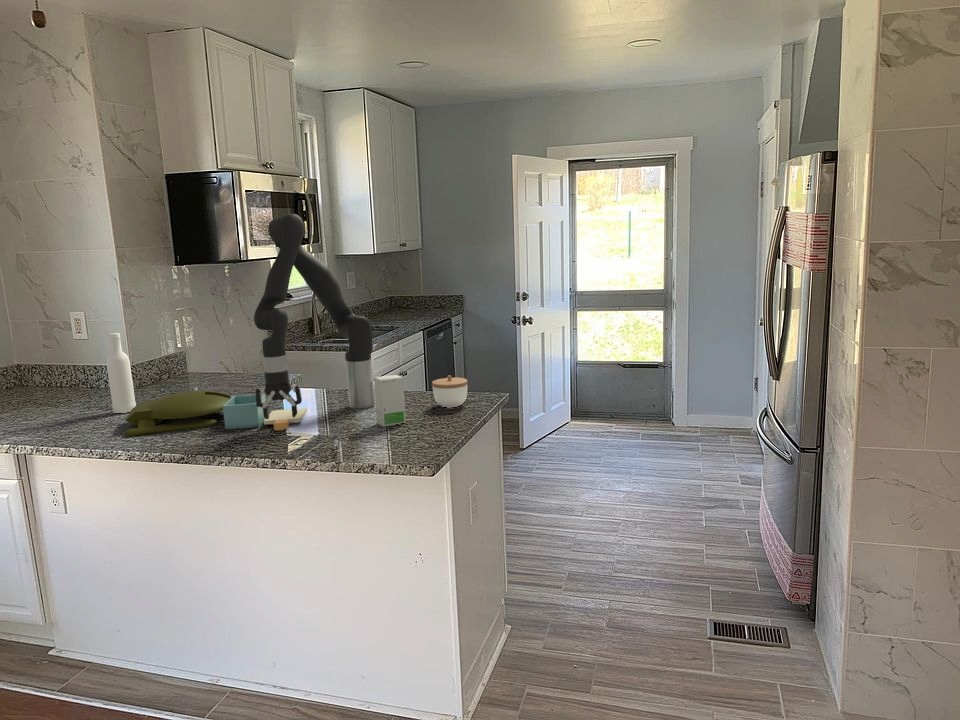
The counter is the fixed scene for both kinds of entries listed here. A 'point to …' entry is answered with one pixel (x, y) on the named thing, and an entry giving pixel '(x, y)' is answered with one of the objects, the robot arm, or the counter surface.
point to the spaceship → (175, 412)
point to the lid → (284, 418)
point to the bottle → (120, 377)
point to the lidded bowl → (450, 391)
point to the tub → (243, 412)
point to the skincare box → (389, 400)
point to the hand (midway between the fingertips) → (280, 417)
